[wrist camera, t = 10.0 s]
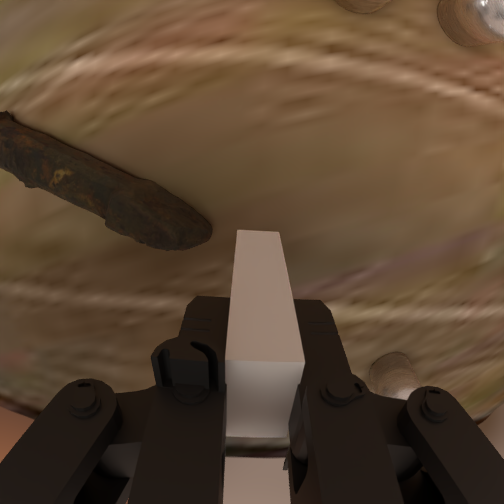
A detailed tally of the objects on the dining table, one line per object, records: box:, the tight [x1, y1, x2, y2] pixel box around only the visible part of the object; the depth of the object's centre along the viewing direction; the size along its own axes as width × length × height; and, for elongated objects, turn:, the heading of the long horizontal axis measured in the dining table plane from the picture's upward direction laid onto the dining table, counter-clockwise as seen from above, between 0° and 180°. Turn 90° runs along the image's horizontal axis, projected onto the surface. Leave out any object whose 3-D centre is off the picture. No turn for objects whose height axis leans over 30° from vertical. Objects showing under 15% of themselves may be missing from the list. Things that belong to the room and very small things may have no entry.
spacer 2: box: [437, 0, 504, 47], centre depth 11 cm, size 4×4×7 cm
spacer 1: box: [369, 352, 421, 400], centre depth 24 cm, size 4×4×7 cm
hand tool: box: [0, 110, 212, 251], centre depth 18 cm, size 19×4×5 cm, turn 61°
